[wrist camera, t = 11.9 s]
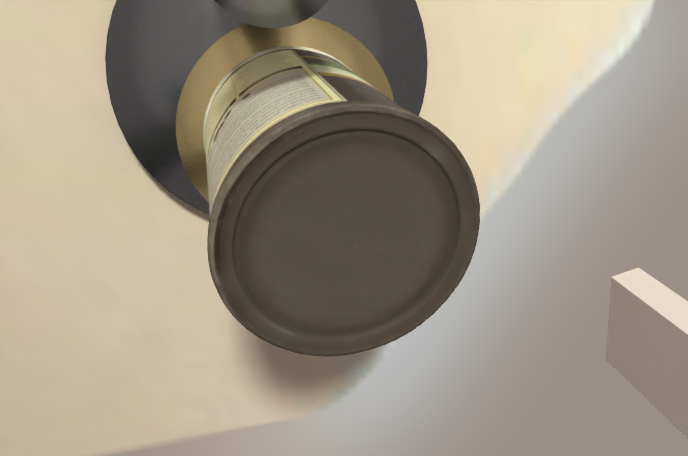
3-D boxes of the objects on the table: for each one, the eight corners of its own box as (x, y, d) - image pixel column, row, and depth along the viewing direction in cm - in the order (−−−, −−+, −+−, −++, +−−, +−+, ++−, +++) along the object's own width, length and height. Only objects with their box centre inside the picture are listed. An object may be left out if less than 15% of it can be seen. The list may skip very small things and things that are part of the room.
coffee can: (378, 41, 31) (500, 99, 19) (371, 207, 36) (465, 339, 24) (191, 44, 29) (192, 112, 17) (209, 221, 34) (220, 376, 21)
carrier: (178, 258, 35) (173, 387, 25) (41, -72, 26) (-57, -85, 16) (437, 182, 38) (531, 270, 27) (396, -149, 28) (516, -205, 18)
